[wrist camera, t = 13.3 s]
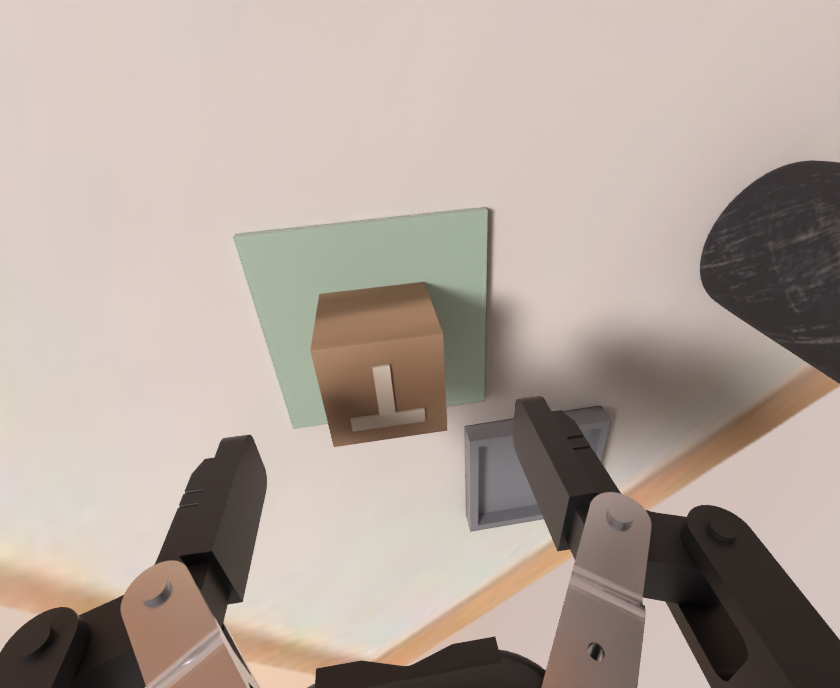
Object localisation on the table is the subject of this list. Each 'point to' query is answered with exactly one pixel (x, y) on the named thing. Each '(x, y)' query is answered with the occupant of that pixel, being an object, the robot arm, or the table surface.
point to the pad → (367, 268)
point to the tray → (512, 470)
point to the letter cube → (379, 363)
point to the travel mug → (783, 260)
